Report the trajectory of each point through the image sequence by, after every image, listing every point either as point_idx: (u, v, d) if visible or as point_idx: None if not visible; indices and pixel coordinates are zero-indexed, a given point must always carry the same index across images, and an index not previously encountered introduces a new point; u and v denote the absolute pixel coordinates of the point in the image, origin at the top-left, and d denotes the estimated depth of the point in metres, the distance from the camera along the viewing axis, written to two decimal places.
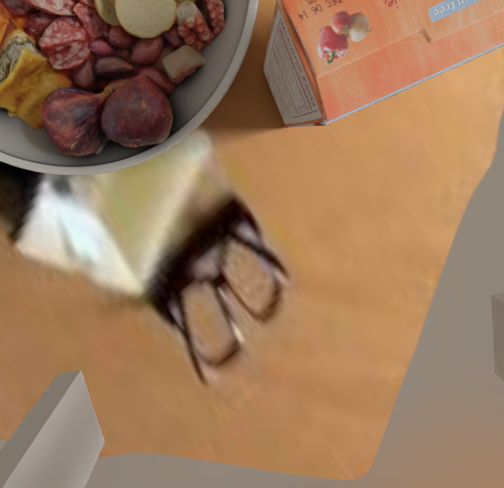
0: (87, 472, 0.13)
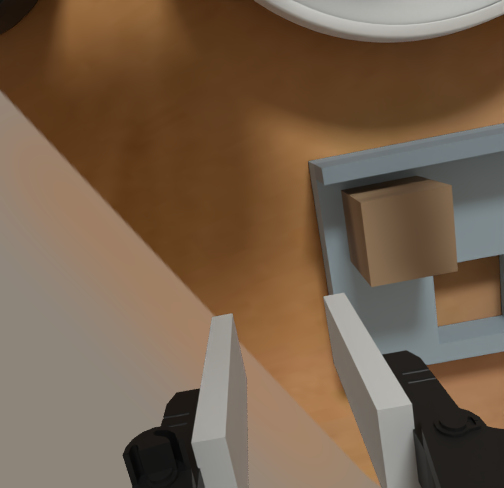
0: (246, 398, 0.15)
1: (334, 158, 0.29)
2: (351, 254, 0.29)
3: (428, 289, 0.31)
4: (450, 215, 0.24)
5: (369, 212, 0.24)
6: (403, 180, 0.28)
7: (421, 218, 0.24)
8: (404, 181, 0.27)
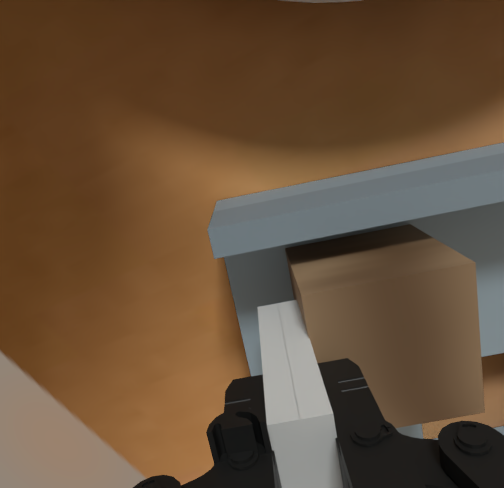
0: None
1: (252, 199, 0.18)
2: None
3: None
4: (472, 316, 0.13)
5: (318, 313, 0.13)
6: (387, 235, 0.16)
7: (417, 321, 0.13)
8: (388, 238, 0.16)
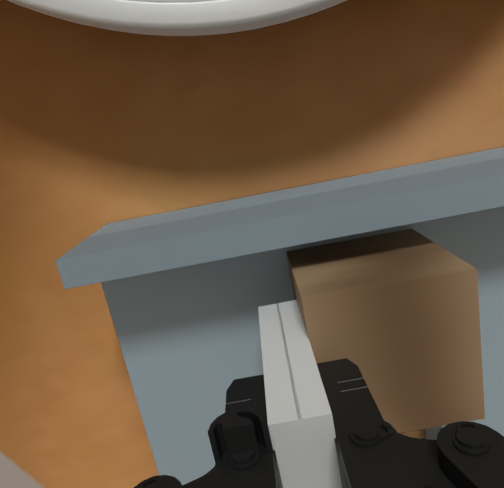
0: None
1: (132, 224, 0.18)
2: None
3: None
4: (473, 323, 0.13)
5: (319, 318, 0.13)
6: (389, 239, 0.16)
7: (417, 328, 0.13)
8: (390, 242, 0.16)
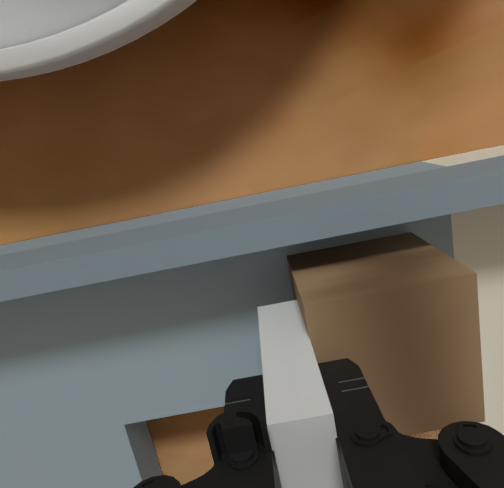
0: None
1: None
2: None
3: (125, 456, 0.20)
4: (473, 326, 0.13)
5: (320, 323, 0.13)
6: (388, 243, 0.16)
7: (418, 331, 0.13)
8: (390, 246, 0.16)
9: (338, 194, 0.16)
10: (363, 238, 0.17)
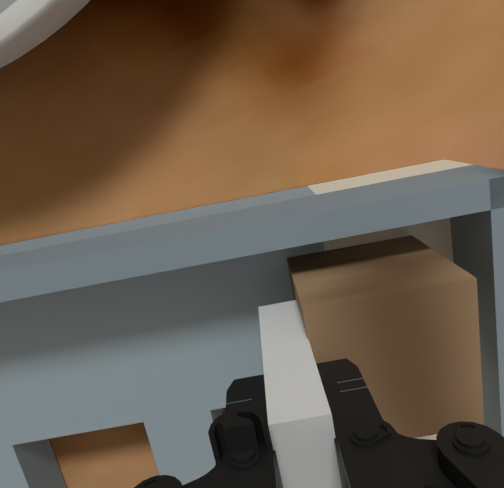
0: None
1: None
2: None
3: (15, 476, 0.20)
4: (472, 331, 0.13)
5: (319, 326, 0.13)
6: (389, 246, 0.16)
7: (417, 336, 0.13)
8: (390, 249, 0.16)
9: (199, 223, 0.16)
10: (237, 265, 0.17)
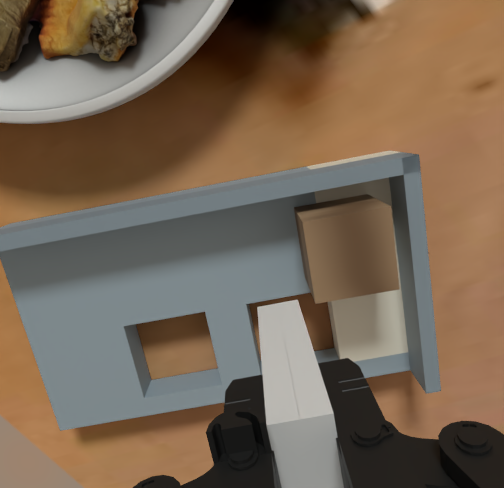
0: None
1: (20, 224, 0.31)
2: (304, 270, 0.30)
3: (124, 347, 0.32)
4: (390, 235, 0.25)
5: (311, 232, 0.25)
6: (353, 199, 0.29)
7: (362, 237, 0.25)
8: (353, 200, 0.28)
9: (244, 184, 0.28)
10: (264, 211, 0.30)
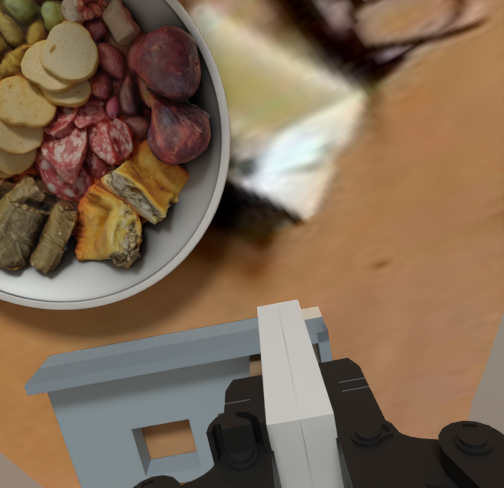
0: None
1: (58, 360, 0.44)
2: None
3: (131, 443, 0.45)
4: None
5: None
6: None
7: None
8: None
9: (214, 342, 0.41)
10: None
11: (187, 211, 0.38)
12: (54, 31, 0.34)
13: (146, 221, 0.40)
